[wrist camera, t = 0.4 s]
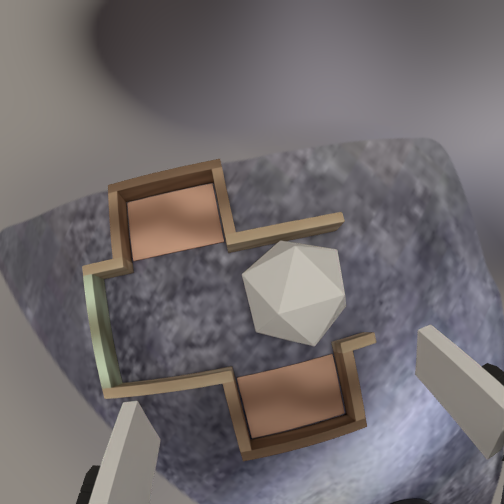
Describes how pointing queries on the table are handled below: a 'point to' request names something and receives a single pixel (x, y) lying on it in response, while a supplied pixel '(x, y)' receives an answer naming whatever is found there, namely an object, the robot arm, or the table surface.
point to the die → (295, 292)
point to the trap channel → (251, 386)
